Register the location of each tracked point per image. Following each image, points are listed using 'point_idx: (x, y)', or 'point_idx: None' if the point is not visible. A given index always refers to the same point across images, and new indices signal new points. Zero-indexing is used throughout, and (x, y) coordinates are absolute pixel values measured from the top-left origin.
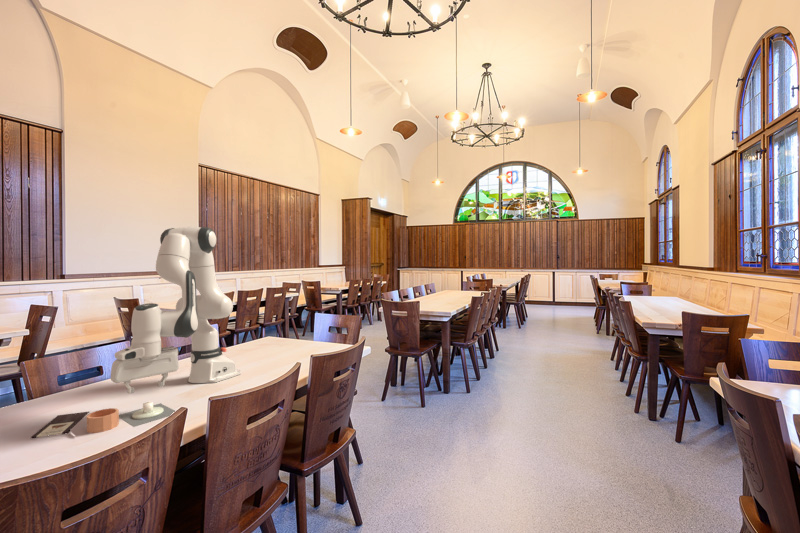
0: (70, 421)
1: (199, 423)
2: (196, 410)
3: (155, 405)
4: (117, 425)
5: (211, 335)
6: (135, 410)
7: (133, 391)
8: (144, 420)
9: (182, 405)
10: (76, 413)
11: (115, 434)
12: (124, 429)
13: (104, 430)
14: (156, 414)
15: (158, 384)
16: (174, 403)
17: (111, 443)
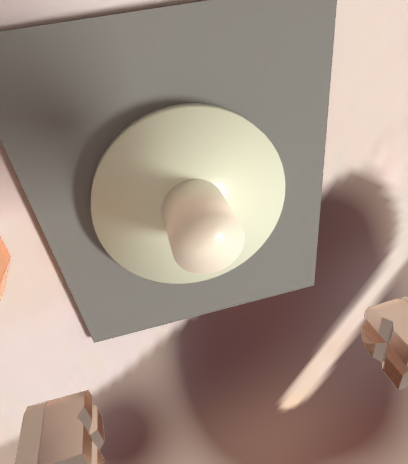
0: None
1: (305, 397)
2: (378, 279)
3: (288, 14)
4: (3, 289)
5: None
6: (124, 21)
7: (95, 439)
8: (151, 291)
9: (395, 152)
10: None
11: (9, 366)
12: (49, 331)
13: None
14: (220, 273)
15: (381, 323)
16: (398, 58)
17: (6, 432)
